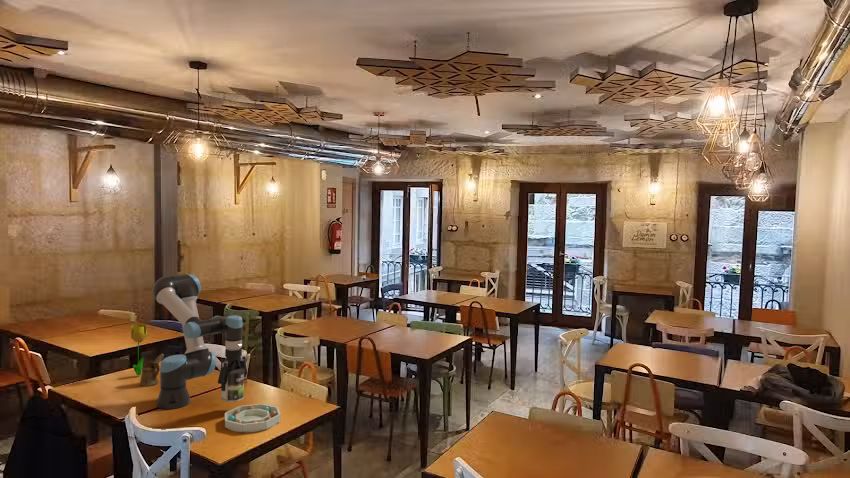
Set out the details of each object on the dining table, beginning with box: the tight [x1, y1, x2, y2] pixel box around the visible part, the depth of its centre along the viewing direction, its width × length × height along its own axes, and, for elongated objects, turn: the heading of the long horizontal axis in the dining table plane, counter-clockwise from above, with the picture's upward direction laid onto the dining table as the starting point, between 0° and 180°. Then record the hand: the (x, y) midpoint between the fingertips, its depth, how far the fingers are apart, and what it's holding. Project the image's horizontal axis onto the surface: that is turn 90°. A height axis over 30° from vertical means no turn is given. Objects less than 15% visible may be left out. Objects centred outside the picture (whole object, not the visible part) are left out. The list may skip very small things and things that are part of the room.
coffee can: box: [221, 367, 245, 403], centre depth 264 cm, size 10×10×14 cm
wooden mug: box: [139, 353, 165, 387], centre depth 300 cm, size 9×14×18 cm, turn 75°
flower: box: [130, 323, 149, 377], centre depth 312 cm, size 9×8×30 cm
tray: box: [224, 403, 282, 433], centre depth 252 cm, size 24×24×4 cm
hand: (232, 393), depth 264 cm, fingers closed on coffee can, 10 cm apart
